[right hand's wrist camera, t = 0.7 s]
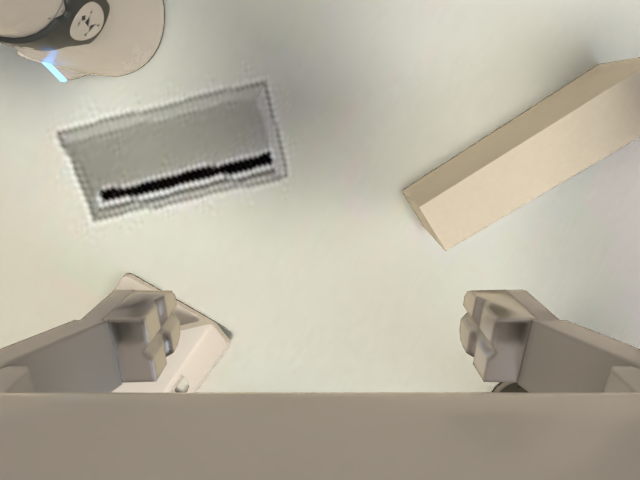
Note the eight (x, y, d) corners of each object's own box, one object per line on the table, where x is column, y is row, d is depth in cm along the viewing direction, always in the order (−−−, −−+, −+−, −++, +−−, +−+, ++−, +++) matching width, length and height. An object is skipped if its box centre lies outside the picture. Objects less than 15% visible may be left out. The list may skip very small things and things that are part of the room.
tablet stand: (61, 385, 58) (-38, 490, 42) (126, 271, 51) (38, 344, 35) (161, 434, 62) (106, 548, 46) (235, 333, 55) (200, 425, 39)
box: (424, 227, 49) (445, 251, 41) (401, 190, 47) (418, 207, 39) (617, 110, 44) (685, 110, 36) (599, 63, 42) (667, 52, 34)
